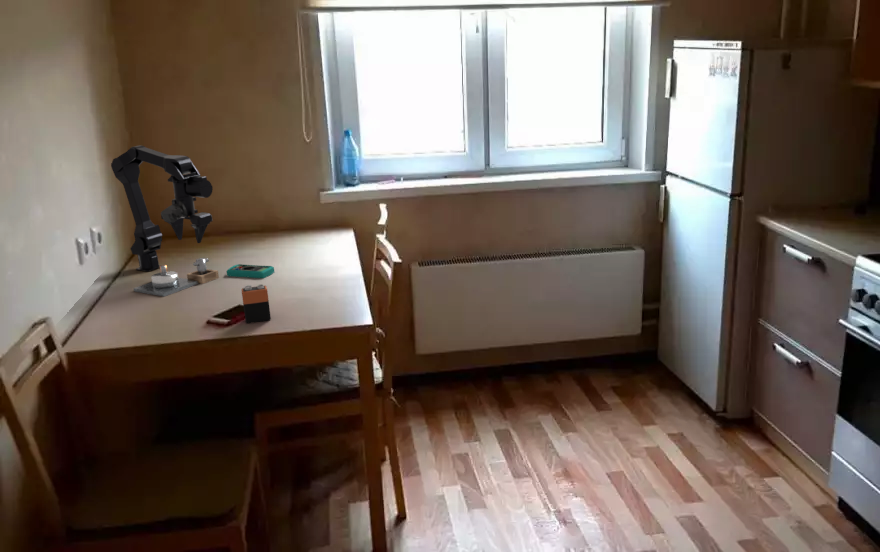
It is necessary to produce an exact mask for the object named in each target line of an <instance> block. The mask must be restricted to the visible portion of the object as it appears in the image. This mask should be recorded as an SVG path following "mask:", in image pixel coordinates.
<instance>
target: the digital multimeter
mask: <svg viewBox="0 0 880 552" xmlns="http://www.w3.org/2000/svg"><path fill="white" fill-rule="evenodd" d="M274 273H275V267H274V266H272V265H259V264H258V265H257V264H256V265H253V264H243V263H242V264H241V263H238V264H235V265H232V266H231V267H229V268H228V269H226V276H227V277H235V278H237V277H238V278H250V279H251V278H252V279H265V278H267V277H269V276H271V275H273V274H274Z"/></svg>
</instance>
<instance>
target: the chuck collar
mask: <svg viewBox="0 0 880 552" xmlns="http://www.w3.org/2000/svg"><path fill="white" fill-rule="evenodd" d="M160 265H161V266H160V268H159V269H160V272H157V273H154V274H153V275H151V282H152V284H153V287H156V288H165V287H171V286H174V285H177V284H178V283H179V279H178V278H179V274H178V272H177V271H172V270H170V271H169V270H168V266H167V264H160Z"/></svg>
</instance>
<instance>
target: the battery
mask: <svg viewBox="0 0 880 552" xmlns="http://www.w3.org/2000/svg"><path fill="white" fill-rule="evenodd" d="M241 296H242V297H241V298H242V304H243V305H242V306H243V311H244V319H245V323H246V324H252V323H251V322H254V323H260V322H259V321H262V322H268V321H267V320H269V321H271V320H272V318H271V310H270V302H269V301H270V300H269V293H268V288H267V286H266V285H264V284H258V285H257V286H252V285H251V284H250V285H249V284H248V285H244V287H242V288H241Z"/></svg>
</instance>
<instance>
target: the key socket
mask: <svg viewBox="0 0 880 552" xmlns="http://www.w3.org/2000/svg"><path fill="white" fill-rule="evenodd" d="M219 278H220V277H219V270H215V269H209V268H207V274H204V275H198V272H197V270H194V271H192V272H189V273H186V279H190V280H196V281H198V284H199V285H200V284H201V285H203V284H207V283H209V282H211V281H214V280H217V279H219Z"/></svg>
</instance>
